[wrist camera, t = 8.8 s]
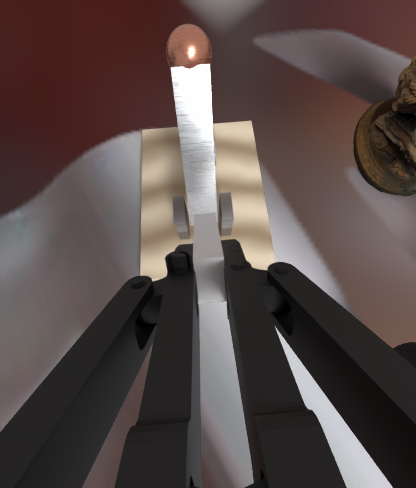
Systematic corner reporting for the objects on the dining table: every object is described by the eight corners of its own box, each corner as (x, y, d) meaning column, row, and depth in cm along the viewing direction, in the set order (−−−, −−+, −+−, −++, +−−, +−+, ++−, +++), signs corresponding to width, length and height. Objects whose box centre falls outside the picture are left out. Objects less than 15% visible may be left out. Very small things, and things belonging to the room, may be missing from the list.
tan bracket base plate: (272, 271, 30) (290, 255, 23) (145, 282, 30) (123, 269, 23) (249, 131, 37) (257, 85, 30) (145, 139, 37) (129, 96, 30)
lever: (220, 224, 26) (211, 16, 17) (187, 227, 26) (160, 21, 17) (218, 209, 29) (209, 27, 20) (188, 212, 29) (165, 30, 20)
